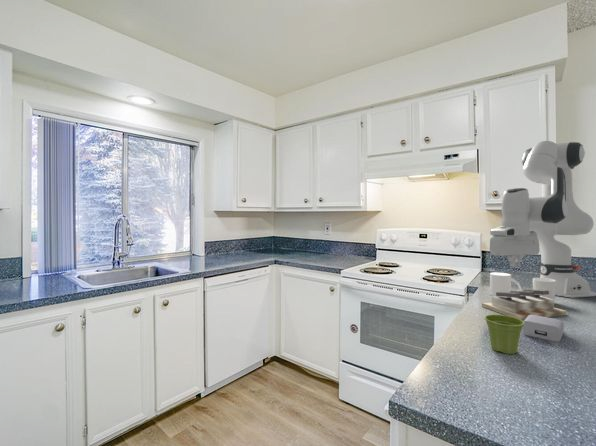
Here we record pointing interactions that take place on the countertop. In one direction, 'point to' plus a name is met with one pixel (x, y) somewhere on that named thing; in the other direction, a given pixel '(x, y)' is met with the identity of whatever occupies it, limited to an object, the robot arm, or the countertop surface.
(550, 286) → the white cup
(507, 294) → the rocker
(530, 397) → the countertop surface
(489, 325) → the plant pot
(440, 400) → the countertop surface
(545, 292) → the rocker
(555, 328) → the charger
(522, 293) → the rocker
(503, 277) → the mug
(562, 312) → the switch panel
